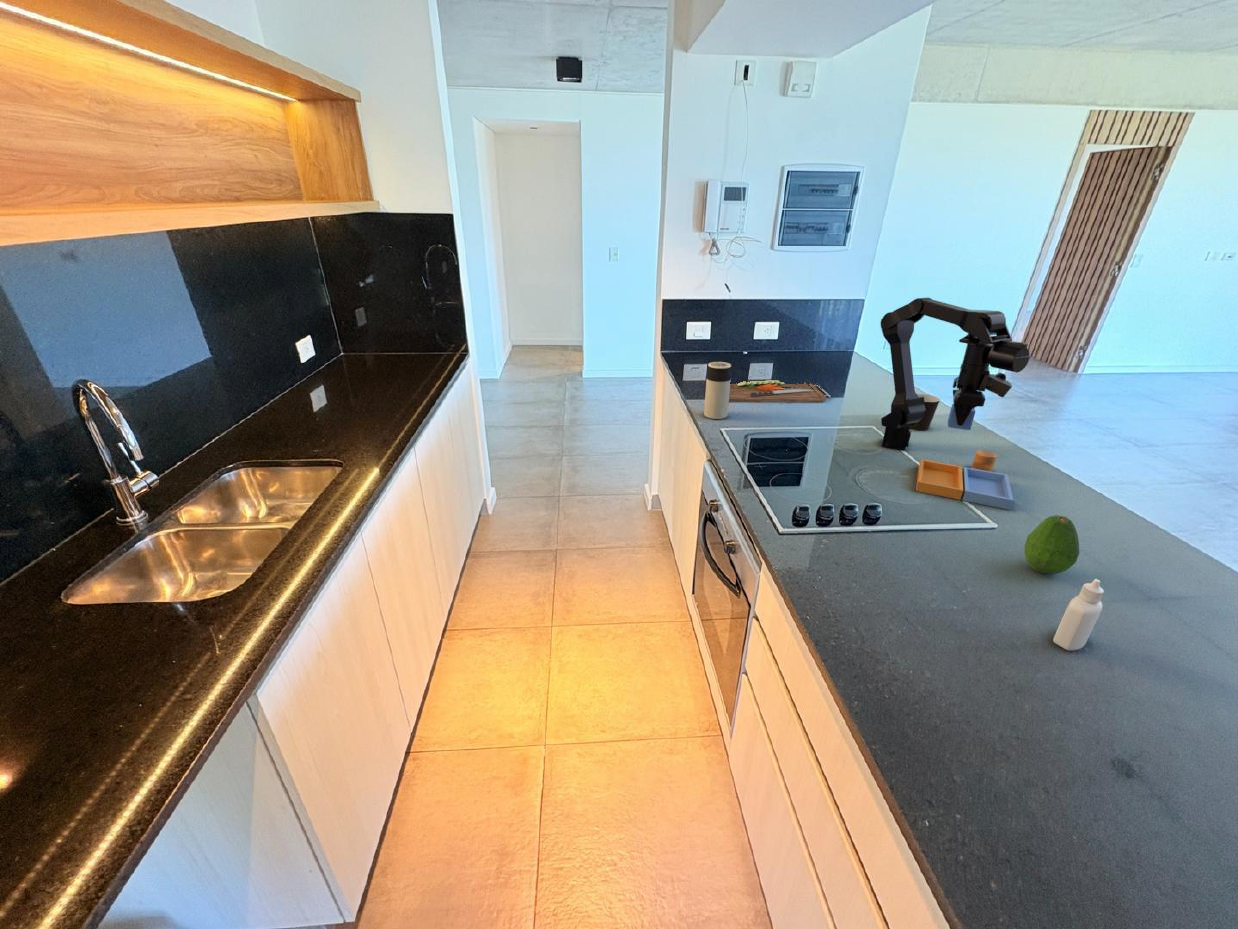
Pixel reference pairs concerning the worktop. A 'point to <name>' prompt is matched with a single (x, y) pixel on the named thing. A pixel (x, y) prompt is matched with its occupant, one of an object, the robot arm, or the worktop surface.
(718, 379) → the travel mug
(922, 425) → the coffee mug
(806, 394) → the chopping board
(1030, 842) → the worktop surface
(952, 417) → the blue block
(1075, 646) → the eye dropper bottle
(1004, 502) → the blue tray
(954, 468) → the amber tray
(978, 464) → the orange cylinder
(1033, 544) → the avocado
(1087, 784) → the worktop surface
